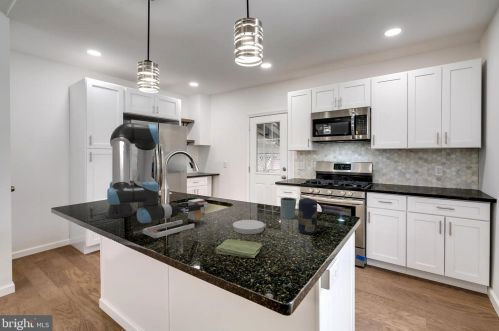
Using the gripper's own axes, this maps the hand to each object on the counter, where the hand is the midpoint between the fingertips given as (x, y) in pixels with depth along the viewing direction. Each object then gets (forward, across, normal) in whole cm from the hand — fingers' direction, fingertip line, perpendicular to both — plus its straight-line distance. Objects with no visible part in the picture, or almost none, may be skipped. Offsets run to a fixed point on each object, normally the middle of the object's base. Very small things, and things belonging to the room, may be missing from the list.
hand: (203, 203), depth 145 cm
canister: (+23, +56, -10) cm, 61 cm away
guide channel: (-23, 0, -11) cm, 25 cm away
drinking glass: (+42, +33, -11) cm, 54 cm away
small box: (-5, 0, -8) cm, 9 cm away
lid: (+8, +30, -11) cm, 33 cm away
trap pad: (-31, 0, -10) cm, 32 cm away
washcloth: (-18, +46, -11) cm, 51 cm away
